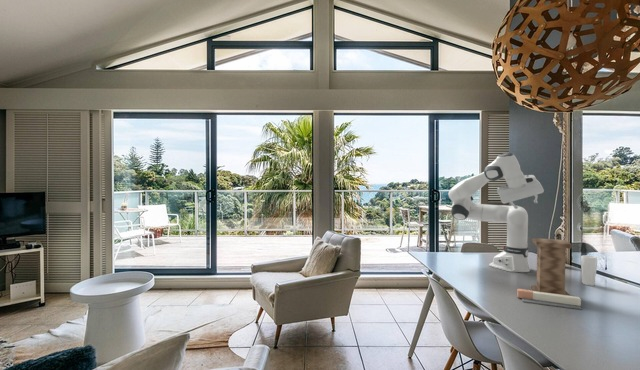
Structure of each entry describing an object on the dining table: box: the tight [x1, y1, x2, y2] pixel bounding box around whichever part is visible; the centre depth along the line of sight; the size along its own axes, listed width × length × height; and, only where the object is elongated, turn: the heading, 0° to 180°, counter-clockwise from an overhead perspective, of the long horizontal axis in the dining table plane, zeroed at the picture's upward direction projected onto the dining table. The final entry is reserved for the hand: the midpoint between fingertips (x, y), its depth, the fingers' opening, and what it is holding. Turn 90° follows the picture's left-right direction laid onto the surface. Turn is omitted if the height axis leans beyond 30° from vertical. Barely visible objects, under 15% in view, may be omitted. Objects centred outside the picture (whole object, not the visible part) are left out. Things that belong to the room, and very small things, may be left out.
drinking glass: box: [580, 254, 598, 287], centre depth 178 cm, size 7×7×15 cm
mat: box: [520, 298, 583, 311], centre depth 153 cm, size 22×11×1 cm, turn 66°
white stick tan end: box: [516, 288, 582, 307], centre depth 153 cm, size 24×3×3 cm, turn 64°
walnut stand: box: [530, 237, 573, 296], centre depth 164 cm, size 14×12×26 cm
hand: (526, 205), depth 176 cm, fingers open, 8 cm apart
